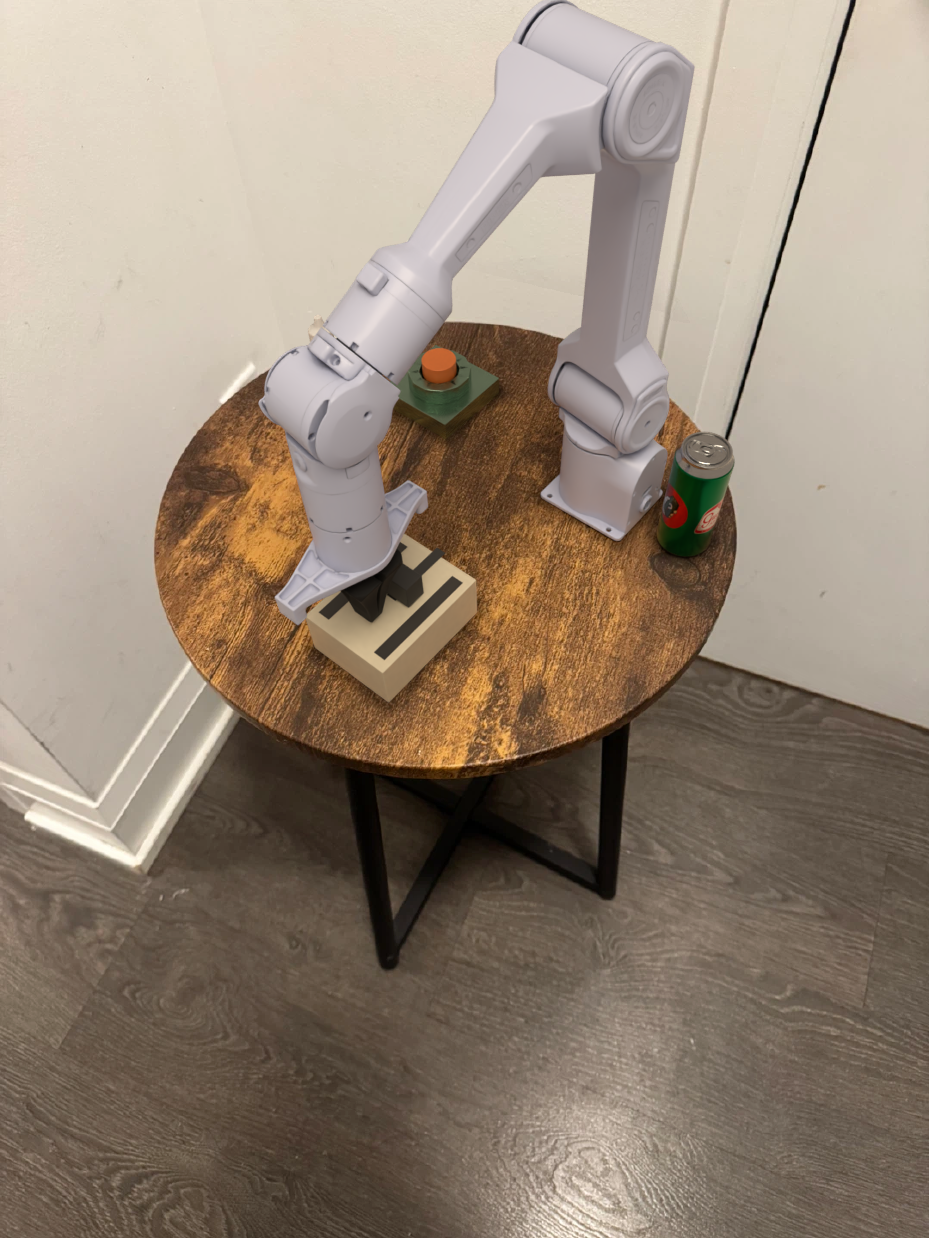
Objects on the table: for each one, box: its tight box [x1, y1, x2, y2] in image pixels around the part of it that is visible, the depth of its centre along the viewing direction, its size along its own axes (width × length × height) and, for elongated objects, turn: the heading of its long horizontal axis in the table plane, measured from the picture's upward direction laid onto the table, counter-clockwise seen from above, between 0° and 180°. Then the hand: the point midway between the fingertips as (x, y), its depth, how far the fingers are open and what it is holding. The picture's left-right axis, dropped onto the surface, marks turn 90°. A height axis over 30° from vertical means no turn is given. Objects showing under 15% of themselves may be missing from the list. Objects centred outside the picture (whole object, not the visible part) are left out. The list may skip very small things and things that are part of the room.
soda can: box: [656, 431, 736, 558], centre depth 80 cm, size 5×5×12 cm
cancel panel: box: [389, 344, 500, 440], centre depth 95 cm, size 9×9×4 cm
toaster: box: [305, 533, 478, 703], centre depth 78 cm, size 9×13×5 cm
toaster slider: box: [387, 564, 424, 608], centre depth 75 cm, size 4×2×2 cm, turn 50°
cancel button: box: [422, 347, 457, 384], centre depth 93 cm, size 4×4×2 cm
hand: (368, 611), depth 74 cm, fingers closed
